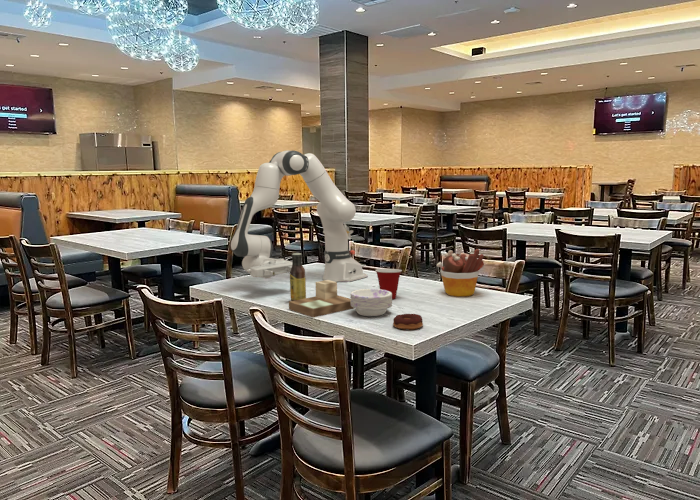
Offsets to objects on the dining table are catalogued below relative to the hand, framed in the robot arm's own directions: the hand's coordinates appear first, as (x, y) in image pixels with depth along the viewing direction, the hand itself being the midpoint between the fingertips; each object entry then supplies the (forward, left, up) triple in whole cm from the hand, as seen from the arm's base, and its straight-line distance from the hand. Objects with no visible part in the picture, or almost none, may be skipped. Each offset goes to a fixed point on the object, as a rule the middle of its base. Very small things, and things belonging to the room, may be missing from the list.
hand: (283, 271), depth 222 cm
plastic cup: (-31, +31, -11) cm, 45 cm away
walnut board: (-1, +26, -11) cm, 28 cm away
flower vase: (-58, -37, -11) cm, 70 cm away
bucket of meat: (-57, +47, -11) cm, 75 cm away
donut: (-8, +65, -11) cm, 66 cm away
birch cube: (-6, +22, -8) cm, 24 cm away
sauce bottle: (0, +11, -11) cm, 15 cm away
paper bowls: (-10, +44, -11) cm, 46 cm away
